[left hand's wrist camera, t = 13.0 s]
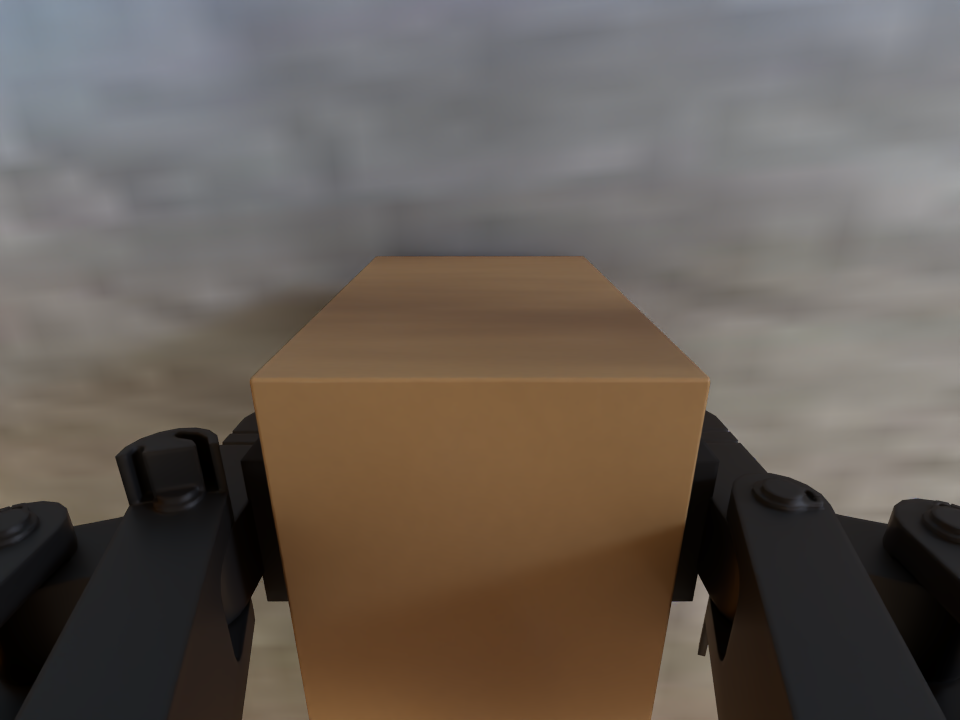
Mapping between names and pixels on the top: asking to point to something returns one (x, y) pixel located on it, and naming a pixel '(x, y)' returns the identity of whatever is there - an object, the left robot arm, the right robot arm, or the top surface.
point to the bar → (480, 491)
